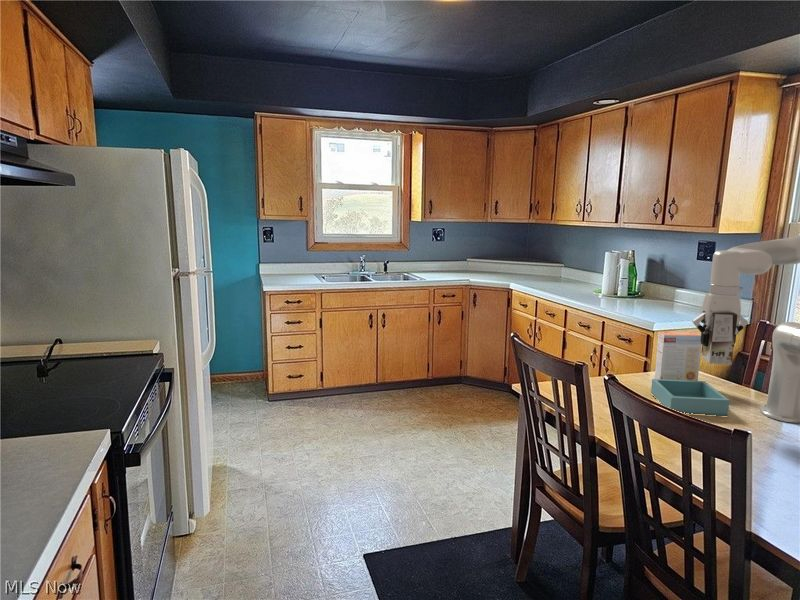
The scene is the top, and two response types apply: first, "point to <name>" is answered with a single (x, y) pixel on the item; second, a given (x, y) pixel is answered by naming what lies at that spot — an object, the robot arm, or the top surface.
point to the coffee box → (721, 339)
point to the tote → (690, 397)
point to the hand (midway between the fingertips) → (717, 345)
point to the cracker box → (678, 356)
